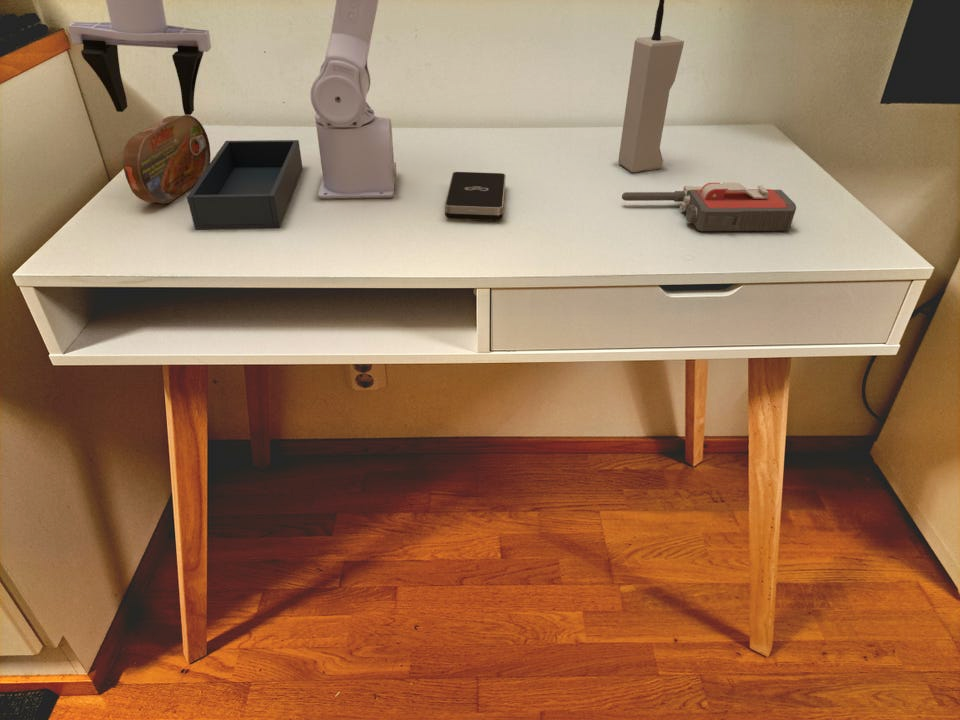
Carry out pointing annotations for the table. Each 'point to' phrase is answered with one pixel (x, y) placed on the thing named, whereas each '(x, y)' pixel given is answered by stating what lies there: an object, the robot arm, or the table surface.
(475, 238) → the table surface
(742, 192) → the walkie-talkie
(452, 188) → the external hard drive
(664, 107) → the vintage mobile phone
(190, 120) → the tin
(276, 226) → the bin
